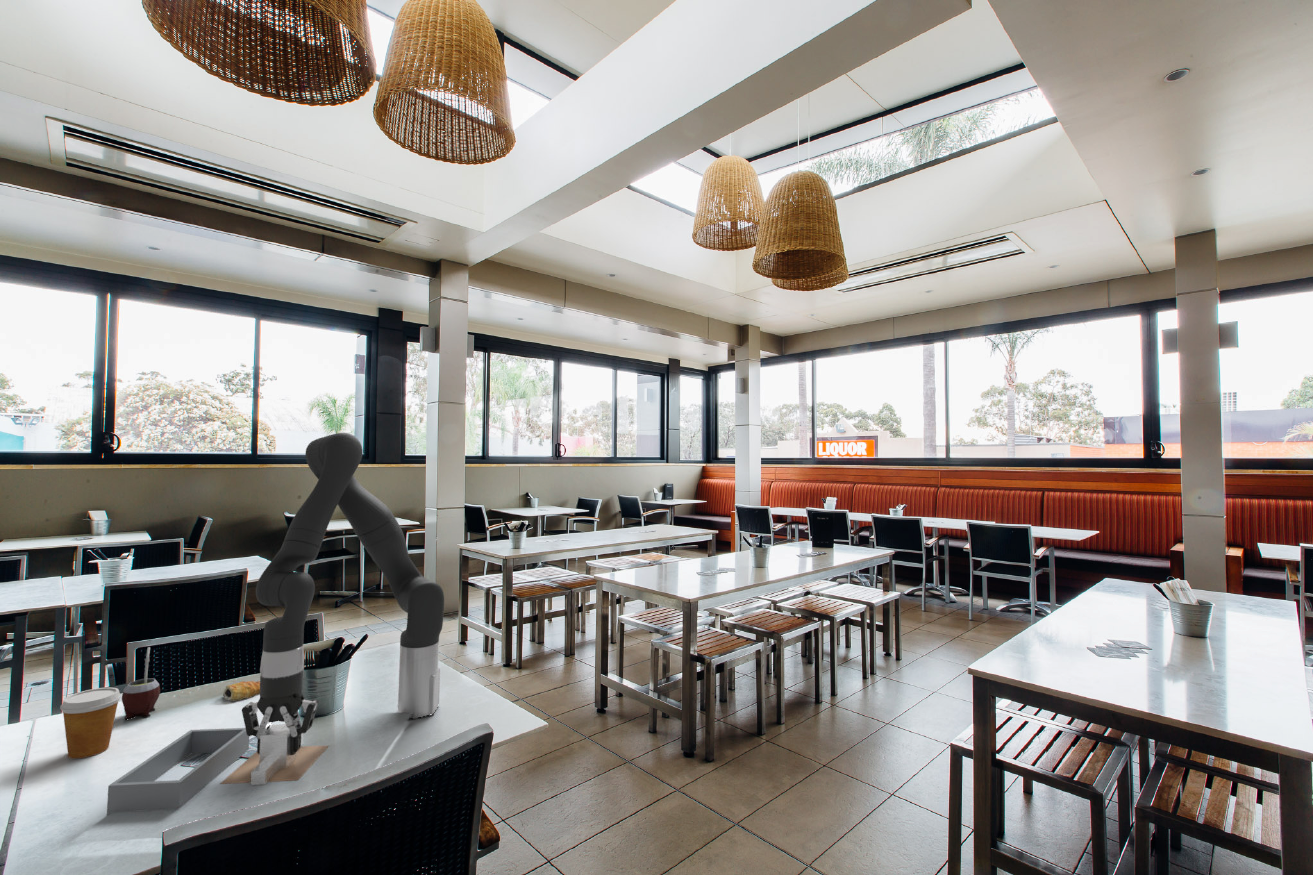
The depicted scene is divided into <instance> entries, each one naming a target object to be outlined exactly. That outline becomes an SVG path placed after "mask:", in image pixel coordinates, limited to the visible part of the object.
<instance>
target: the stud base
mask: <svg viewBox="0 0 1313 875" xmlns="http://www.w3.org/2000/svg"><path fill="white" fill-rule="evenodd" d="M329 747H330V745H309V746H307V745H306V746H305V745H304V746H301V747H300V749H299V750H298V755H297V758H296V759H295V760H294V761H293V762H292V763H291V764H290V765H289V766H288V767H287V768H286V769H279V770H278V771H277V772H276V773H275V774H274V775H273V776H272V778H271V779H270V780H269V781H268V782H267V783H269V782H271V783H272V782H292V781H299V780H300V779H301V778H302V776H303V775H304V774H305V773H307V771H308V770H309V769H310V768H311V766H313V765H314V763H315V762H316V761H317V760H318V759H319V758H320V757H321V755H322V754H323V753H324V752H325V751H326V750H327V749H328V748H329ZM259 756H260V754H258V753H257V751H255V752H254V753H253V754H251V756H250V757H248V759H246V760H245V761H244V762H243V763H242V764H240V765H239V766H238V767H236V769H235V770H234V771H232V773H230V774H229V775H228V776H227V777H226V778H225V779H223V780H222V781H221V782H219V785H226V784H227V785H228V784H229V785H231V784H248V783H249V784H251V772H252V771H253V770H254V769H255V768H256V767H257V766H258V765H259Z"/></svg>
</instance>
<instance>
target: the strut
mask: <svg viewBox="0 0 1313 875" xmlns="http://www.w3.org/2000/svg"><path fill="white" fill-rule="evenodd" d="M290 737H291V733H290V731H289V728H288V727H287V726H286V724H285V723H277V724H276V723H275V724H271V727H270V728H269V729H267V730H266V731H265V732H264V733H263V734H262V735H261V736H260V756H259V765H258V766H257V767H256V768H255V769H254V770H253V771H252V772H251V783H250V786H259V785H260V786H261V785H267V783H269V782H268V781H269V780H270V779H271V778H272V776H273V775H274V774H275V773H276V772H277V771H278V770H279V769H286V768H287V767H288V766H289V765H290V764H291V763H292V762H293V761H294V760H295V759H296V758H297V755H298V751H297V752H296V753H295V754H294V755H290ZM303 745H304V733H302V734H301V747H303Z"/></svg>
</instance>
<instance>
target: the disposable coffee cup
mask: <svg viewBox="0 0 1313 875" xmlns="http://www.w3.org/2000/svg"><path fill="white" fill-rule="evenodd" d="M120 699H122V694H121V692H120V690H119V688H117V687H98V688H92V689H86V690H83V691H79V692H76V693H73V694H71V695H68V696H67V697H65V698H64V700H63V701H62V704H61V705H60V706H59V708H60V710H61V712H62V714H63V723H64V732H65V741H66V742H65V743H66V749H67V750H66V751H67V757H68V758H69V759H72V760H73V759H74V760H75V759H84V758H88V757H89V758H90V757H93V756H96V755H99V754H101V753H103V752H105V751H107V750H108V749H109V747H110V742H111V738H112V733H113V730H114V729H113V728H114V723H115V720H116V719H115V717H116V713H117V709H118V704H119V702H120Z"/></svg>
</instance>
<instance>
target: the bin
mask: <svg viewBox="0 0 1313 875" xmlns="http://www.w3.org/2000/svg"><path fill="white" fill-rule="evenodd" d="M249 749H250V736H248V735H247V733H246V728H245V727H235V728H233V727H232V728H208V729H207V728H206V729H205V728H204V729H190V730H188V731H187V732H185V733H184V734H182V735H181V736H179V737H178V738H177V739H174V741H172V742H170V743H169V744H168V745H167V746H165V747H163V748H162V749H161V750H159V751H158V752H156V753H154V754H153V755H151V756H150V757H149V758H147V759H146V760H145V761H143V762H142V763H140V764H138V765H137V766H136V767H134V768H132V769H131V770H130V771H128V772H127V773H125V774H124V775H122V776H121V777H119V778H118V779H116V780H115V781H113V782H112V783H110V784H108V788H107V806H106V816H109V815H110V814H112V813H119V812H120V813H121V812H123V813H124V812H139V811H140V812H141V811H143V812H144V811H159V810H163V811H164V810H178V809H180V808H182V807H183V806H184V805H186V804H187V803H188V802H189V801H190V800H191V799H193V797H195V796H196V795H197V794H198V793H200V791H202V790H203V789H204V788H205V787H206V786H207V785H209V784H210V783H211V782H213V780H215V779H216V778H218V776H219V775H220V774H222V773H223V772H224V771H225V770H226V769H228V768H229V767H230V766H231V765H232V764H233V763H234V762H236V761H237V760H238V759H239V758H241V756H244V754H245V753H247V752H248V751H249ZM192 754H210V755H209V756H207V757H206V758H205V759H204V760H203V761H201V762H199V764H198V765H196V766H195V767H193V768H192V769H191V770H189V772H187V773H186V774H184V775H183V776H182V777H181V778H180V779H178V780H176V779H175V780H158V779H159V778H160V777H162V776H164V775H165V773H168V772H169V771H170V770H172V768H174V767H176V765H177V764H179V763H181V762H182V761H183V760H185V759H186V758H188V757H189V756H191V755H192ZM156 780H157V781H156Z"/></svg>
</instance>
